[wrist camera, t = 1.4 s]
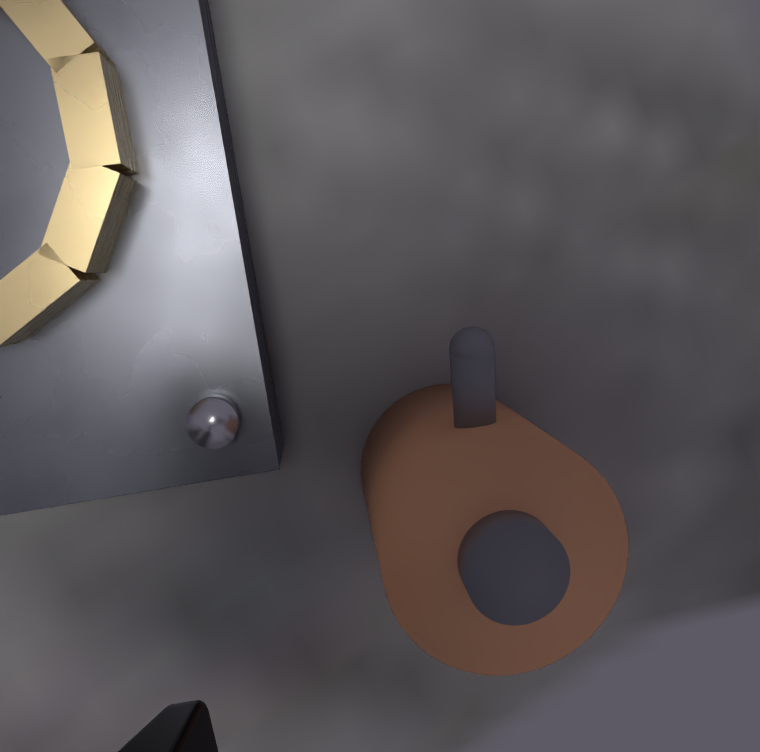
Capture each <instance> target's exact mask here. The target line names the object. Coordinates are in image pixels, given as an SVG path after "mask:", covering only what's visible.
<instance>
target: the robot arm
mask: <svg viewBox="0 0 760 752" xmlns="http://www.w3.org/2000/svg"><path fill="white" fill-rule="evenodd" d="M118 752H218V748H217V744H216V740H215V736H214V732H213V728H212V723H211V719H210V715H209V711H208V708H207V706H206V705H205V703H204V702H202V701H201V700H196V701H190V702H183V703H177V704H172V705H169V706H167V707H166V708H165V709H164V710H163V711H162V712H160V713H159V714H158V715H157V716H156V717H155V718H154V719H153V720H152V721H151V722H150V723H149V724H147V725H146V726H145V727H144V728H143V729H142V730H141V731H140V732H139V733H138V734H137V735H136V736H134V737H133V738H132V739H131V740H130V741H129V742H128V743H127V744H126V745H125V746H124V747H123V748H121V749H120V750H119V751H118Z"/></svg>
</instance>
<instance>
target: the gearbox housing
mask: <svg viewBox="0 0 760 752" xmlns="http://www.w3.org/2000/svg"><path fill="white" fill-rule="evenodd" d="M283 447H284V443H283V437H282V431H281V425H280V419H279V414H278V408H277V402H276V396H275V390H274V384H273V378H272V373H271V367H270V361H269V355H268V349H267V343H266V338H265V332H264V326H263V320H262V314H261V308H260V302H259V297H258V291H257V285H256V279H255V273H254V267H253V262H252V256H251V250H250V244H249V238H248V232H247V226H246V221H245V215H244V209H243V203H242V197H241V191H240V185H239V180H238V174H237V168H236V162H235V156H234V150H233V145H232V139H231V133H230V127H229V121H228V115H227V109H226V104H225V98H224V92H223V86H222V80H221V74H220V68H219V63H218V57H217V51H216V45H215V39H214V33H213V28H212V22H211V16H210V10H209V4H208V0H0V515H6V514H12V513H18V512H24V511H30V510H36V509H42V508H48V507H54V506H60V505H66V504H72V503H78V502H84V501H90V500H96V499H102V498H108V497H114V496H120V495H126V494H133V493H139V492H145V491H151V490H157V489H163V488H169V487H175V486H181V485H187V484H193V483H199V482H205V481H211V480H217V479H223V478H229V477H235V476H241V475H247V474H253V473H260V472H266V471H272V470H278V469H279V468H280V463H281V458H282V452H283Z"/></svg>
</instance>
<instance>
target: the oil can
mask: <svg viewBox="0 0 760 752" xmlns="http://www.w3.org/2000/svg"><path fill="white" fill-rule="evenodd" d="M449 352H450V368H451V383H452V384H444V385H434V386H430V387H425V388H422V389H420V390H417V391H414V392H412V393H410V394H408V395H406V396H404V397H403V398H401V399H400V400H398V401H397V402H395V403H394V404H393V405H392V406H391V407H390V408H388V409H387V410H386V411H385V412H384V413H383V415H382V416H381V417H380V418H379V419H378V421H377V422H376V424H375V425H374V427H373V428H372V430H371V432H370V434H369V436H368V438H367V441H366V444H365V447H364V450H363V455H362V460H361V482H362V488H363V492H364V497H365V501H366V506H367V510H368V515H369V519H370V524H371V528H372V533H373V537H374V542H375V547H376V551H377V556H378V560H379V565H380V569H381V574H382V578H383V583H384V587H385V592H386V596H387V599H388V601H389V604H390V607H391V609H392V611H393V613H394V615H395V617H396V619H397V620H398V622H399V624H400V625H401V627H402V628H403V629H404V631H405V632H406V633H407V635H408V636H409V637H410V638H411V639H412V640H413V641H414V642H415V643H416V644H417V645H418V646H419V647H420V648H421V649H423V650H424V651H425V652H427V653H428V654H429V655H431V656H432V657H434V658H435V659H437V660H439V661H441V662H443V663H444V664H447V665H449V666H452V667H454V668H456V669H459V670H463V671H467V672H471V673H475V674H483V675H512V674H520V673H524V672H528V671H532V670H536V669H539V668H542V667H544V666H547V665H549V664H552V663H554V662H556V661H557V660H559V659H561V658H563V657H565V656H567V655H568V654H569V653H571V652H572V651H574V650H575V649H577V648H578V647H579V646H581V645H582V644H583V643H584V642H585V641H586V640H587V639H588V638H590V637H591V636H592V634H593V633H594V632H595V631H596V630H597V629H598V628H599V627H600V625H601V624H602V623H603V621H604V620H605V619H606V617H607V616H608V614H609V613H610V611H611V609H612V607H613V606H614V604H615V602H616V600H617V598H618V595H619V593H620V590H621V587H622V585H623V582H624V577H625V573H626V569H627V561H628V534H627V528H626V522H625V518H624V515H623V512H622V509H621V506H620V504H619V502H618V500H617V497H616V495H615V493H614V492H613V490H612V489H611V487H610V486H609V484H608V482H607V481H606V480H605V478H604V477H603V476H602V475H601V474H600V473H599V472H598V470H597V469H596V468H595V467H593V466H592V465H591V464H590V463H589V462H588V461H586V460H585V459H584V458H583V457H581V456H580V455H578V454H577V453H575V452H574V451H572V450H571V449H569V448H568V447H567V446H565V445H564V444H562V443H561V442H559V441H558V440H556V439H555V438H553V437H552V436H550V435H549V434H547V433H546V432H544V431H543V430H541V429H540V428H539V427H537V426H536V425H534V424H533V423H531V422H530V421H528V420H527V419H525V418H524V417H522V416H521V415H519V414H518V413H516V412H515V411H513V410H512V409H511V408H509V407H508V406H506V405H505V404H503V403H502V402H500V401H499V400H497V399H496V389H495V353H494V343H493V340H492V338H491V337H490V335H489V334H488V333H487V332H486V331H485V330H483V329H481V328H478V327H466V328H463V329H461V330H459V331H458V332H457V333H456V334H455V335H454V336H453V338H452V340H451V342H450V348H449Z"/></svg>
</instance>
